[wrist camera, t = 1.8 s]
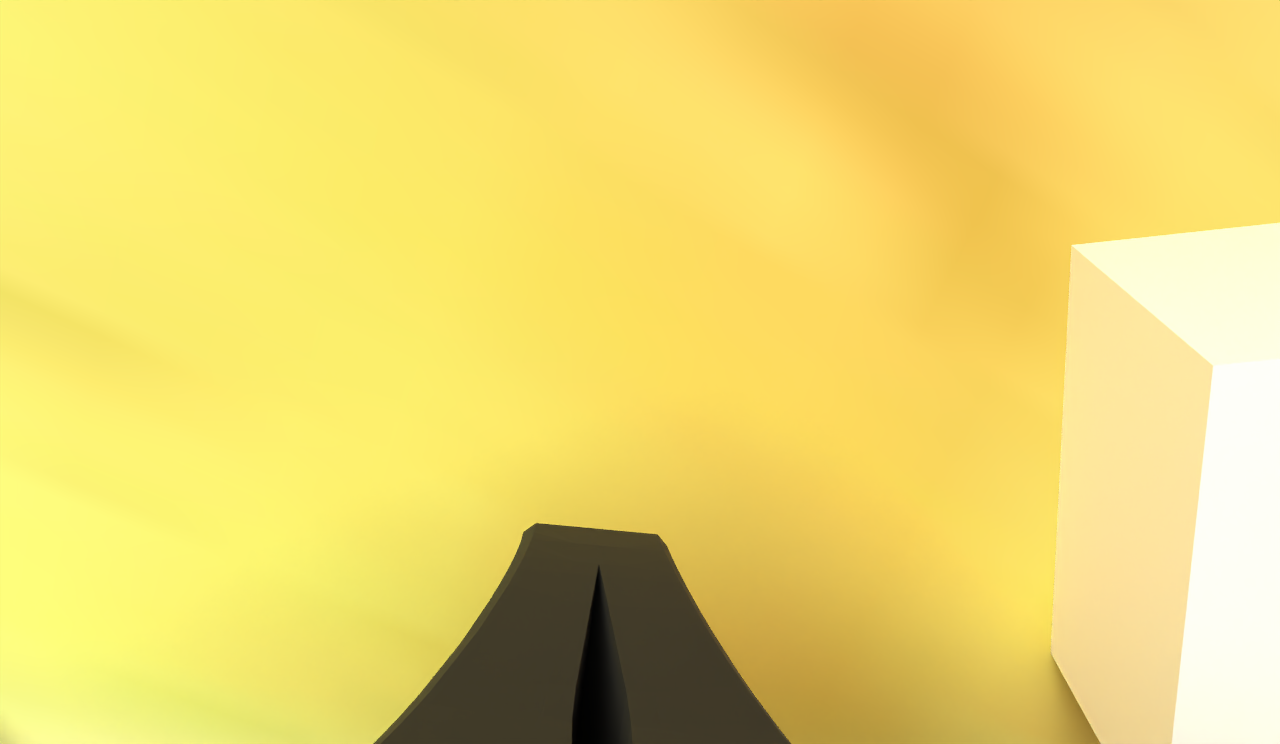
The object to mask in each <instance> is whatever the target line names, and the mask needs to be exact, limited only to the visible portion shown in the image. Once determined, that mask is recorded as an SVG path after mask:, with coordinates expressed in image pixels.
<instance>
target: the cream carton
mask: <svg viewBox="0 0 1280 744" xmlns="http://www.w3.org/2000/svg"><path fill="white" fill-rule="evenodd" d="M1051 654H1052V656H1053V658H1054V660H1055V662H1056V664H1057V665H1058V667H1059V669H1060V671H1061V673H1062V674H1063V676H1064V678H1065V680H1066V682H1067V684H1068V685H1069V687H1070V689H1071V691H1072V693H1073V695H1074V696H1075V698H1076V700H1077V702H1078V704H1079V705H1080V707H1081V709H1082V711H1083V713H1084V715H1085V716H1086V718H1087V720H1088V722H1089V724H1090V725H1091V727H1092V729H1093V731H1094V733H1095V735H1096V736H1097V738H1098V740H1099V742H1100V744H1280V223H1274V224H1265V225H1255V226H1246V227H1237V228H1227V229H1218V230H1209V231H1200V232H1190V233H1181V234H1172V235H1162V236H1153V237H1144V238H1135V239H1125V240H1116V241H1107V242H1097V243H1088V244H1079V245H1072V246H1071V266H1070V285H1069V305H1068V324H1067V344H1066V363H1065V383H1064V402H1063V422H1062V441H1061V461H1060V481H1059V500H1058V520H1057V539H1056V559H1055V578H1054V598H1053V617H1052V637H1051Z"/></svg>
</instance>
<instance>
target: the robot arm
mask: <svg viewBox="0 0 1280 744" xmlns="http://www.w3.org/2000/svg"><path fill="white" fill-rule="evenodd" d="M374 744H791V743H790V742H789V741H788V739H787V738H786V737H785V735H784V734H783V733H782V732H781V730H780V729H779V728H778V726H777V725H776V724H775V722H774V721H773V720H772V718H771V717H770V716H769V714H768V713H767V712H766V710H765V709H764V708H763V706H762V705H761V704H760V702H759V701H758V700H757V698H756V697H755V696H754V694H753V693H752V691H751V690H750V688H749V687H748V686H747V684H746V683H745V681H744V680H743V678H742V677H741V675H740V674H739V673H738V671H737V669H736V668H735V666H734V665H733V663H732V662H731V660H730V659H729V657H728V655H727V654H726V652H725V651H724V649H723V648H722V646H721V645H720V643H719V641H718V640H717V638H716V637H715V635H714V634H713V632H712V630H711V629H710V627H709V625H708V624H707V622H706V620H705V619H704V617H703V615H702V614H701V612H700V610H699V608H698V606H697V605H696V603H695V601H694V599H693V598H692V596H691V594H690V592H689V590H688V588H687V587H686V585H685V583H684V581H683V579H682V577H681V575H680V573H679V571H678V569H677V567H676V565H675V563H674V561H673V559H672V557H671V555H670V552H669V550H668V548H667V546H666V544H665V543H664V542H663V541H662V539H661V538H660V537H659V536H658V535H657V534H647V533H636V532H625V531H614V530H604V529H593V528H582V527H571V526H561V525H550V524H539V523H536V524H534V525H533V526H532V527H530V528H529V529H527V530H526V531H524V533H523V536H522V540H521V543H520V545H519V548H518V550H517V552H516V555H515V557H514V559H513V561H512V563H511V565H510V567H509V569H508V571H507V572H506V574H505V576H504V578H503V579H502V581H501V583H500V584H499V586H498V588H497V590H496V591H495V593H494V595H493V596H492V598H491V599H490V601H489V602H488V604H487V605H486V607H485V608H484V610H483V611H482V613H481V614H480V616H479V617H478V619H477V620H476V621H475V623H474V624H473V626H472V627H471V629H470V630H469V632H468V633H467V635H466V636H465V638H464V639H463V640H462V642H461V643H460V644H459V646H458V647H457V648H456V650H455V651H454V652H453V653H452V655H451V656H450V657H449V658H448V660H447V661H446V662H445V663H444V665H443V666H442V667H441V668H440V670H439V671H438V672H437V673H436V675H435V676H434V677H433V678H432V679H431V681H430V682H429V683H428V684H427V686H426V687H425V688H424V689H423V691H422V692H421V693H420V694H419V695H418V697H417V698H416V699H415V700H414V701H413V702H412V703H411V705H410V706H409V707H408V708H407V709H406V710H405V711H404V712H403V713H402V715H401V716H400V717H399V718H398V719H397V720H396V721H395V722H394V723H393V724H392V725H391V726H390V727H389V728H388V730H387V731H386V732H385V733H384V734H383V735H382V736H381V737H380V738H379V739H378V740H377V741H376V742H375V743H374Z"/></svg>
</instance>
